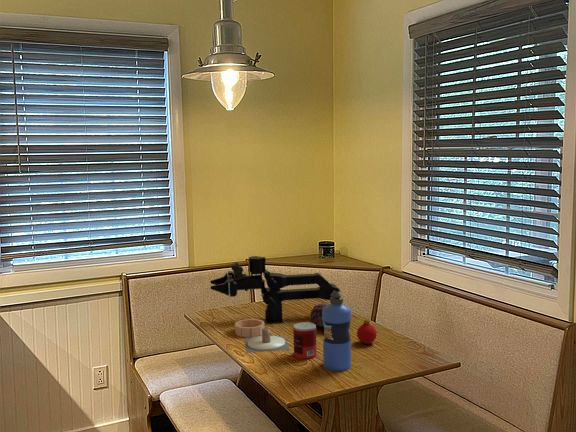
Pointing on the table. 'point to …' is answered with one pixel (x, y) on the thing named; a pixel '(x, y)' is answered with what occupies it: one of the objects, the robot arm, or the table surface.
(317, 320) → the pine cone
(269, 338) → the lid
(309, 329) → the canned food
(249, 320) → the bowl
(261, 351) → the mat
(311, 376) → the table surface
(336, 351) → the water bottle
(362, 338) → the christmas ornament
